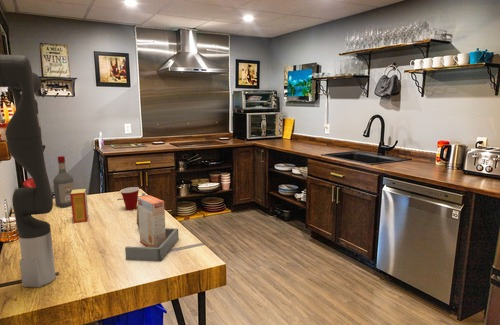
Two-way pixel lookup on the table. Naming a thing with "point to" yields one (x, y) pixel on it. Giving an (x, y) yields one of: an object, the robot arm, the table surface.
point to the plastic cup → (130, 197)
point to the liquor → (63, 185)
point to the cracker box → (151, 221)
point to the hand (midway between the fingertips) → (34, 170)
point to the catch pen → (151, 252)
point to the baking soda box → (79, 205)
